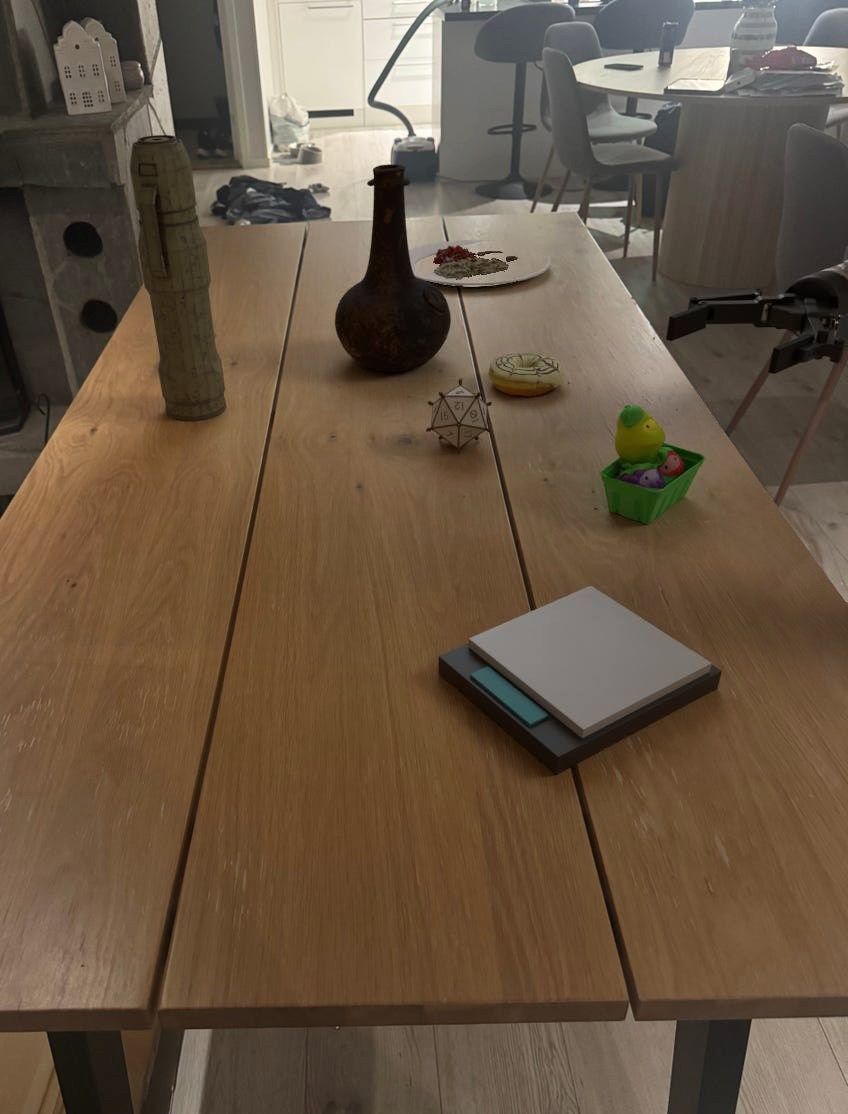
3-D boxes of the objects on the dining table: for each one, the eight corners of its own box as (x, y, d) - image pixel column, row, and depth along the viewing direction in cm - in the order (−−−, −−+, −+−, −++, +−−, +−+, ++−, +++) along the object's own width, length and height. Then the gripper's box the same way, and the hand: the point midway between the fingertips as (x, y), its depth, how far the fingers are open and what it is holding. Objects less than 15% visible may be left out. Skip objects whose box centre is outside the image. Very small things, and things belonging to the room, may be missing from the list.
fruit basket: (652, 533, 106) (667, 439, 100) (583, 508, 111) (594, 417, 105) (700, 495, 113) (718, 404, 106) (633, 473, 118) (647, 385, 111)
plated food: (507, 302, 172) (508, 283, 170) (367, 280, 185) (367, 262, 183) (574, 260, 192) (576, 243, 190) (444, 242, 205) (444, 226, 203)
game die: (451, 464, 130) (454, 390, 130) (505, 457, 124) (507, 380, 124) (410, 452, 123) (413, 375, 123) (464, 445, 117) (467, 363, 117)
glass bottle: (418, 391, 141) (418, 184, 124) (315, 371, 148) (302, 174, 131) (468, 351, 153) (475, 158, 136) (371, 335, 160) (365, 150, 144)
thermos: (154, 425, 134) (105, 148, 113) (177, 392, 143) (136, 130, 122) (216, 426, 133) (178, 147, 112) (235, 393, 142) (203, 129, 121)
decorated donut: (572, 395, 138) (575, 370, 135) (501, 403, 136) (502, 377, 134) (548, 369, 146) (550, 345, 144) (480, 376, 144) (481, 351, 142)
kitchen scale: (718, 688, 85) (724, 661, 83) (556, 775, 77) (559, 747, 75) (591, 604, 96) (594, 579, 94) (438, 673, 88) (438, 647, 86)
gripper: (744, 249, 123) (636, 285, 113) (937, 294, 107) (831, 340, 97) (732, 308, 127) (627, 347, 117) (916, 359, 111) (813, 410, 101)
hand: (719, 344), depth 107 cm, fingers open, 13 cm apart
